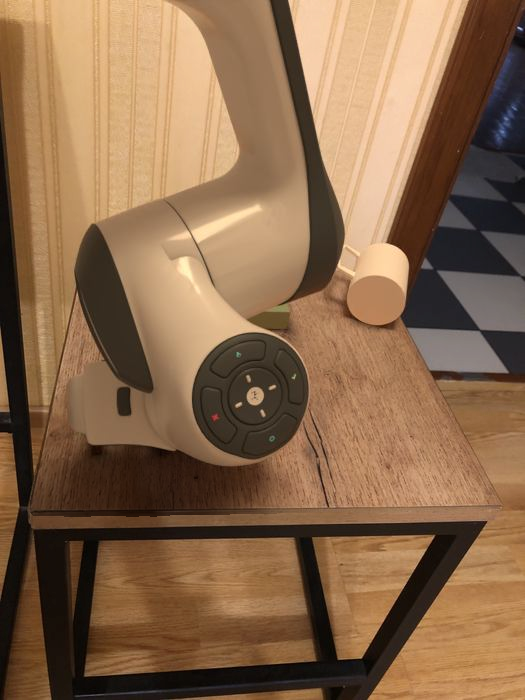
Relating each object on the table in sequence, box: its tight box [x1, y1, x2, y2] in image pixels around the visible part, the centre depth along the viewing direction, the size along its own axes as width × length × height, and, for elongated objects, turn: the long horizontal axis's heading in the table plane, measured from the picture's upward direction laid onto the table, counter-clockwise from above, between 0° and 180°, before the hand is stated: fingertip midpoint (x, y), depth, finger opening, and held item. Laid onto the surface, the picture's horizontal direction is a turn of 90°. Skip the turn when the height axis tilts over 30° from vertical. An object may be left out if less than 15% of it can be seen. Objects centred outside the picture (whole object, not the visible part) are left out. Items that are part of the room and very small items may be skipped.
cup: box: [336, 242, 410, 326], centre depth 86 cm, size 8×12×10 cm
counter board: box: [247, 303, 291, 330], centre depth 81 cm, size 16×11×3 cm
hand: (170, 397), depth 60 cm, fingers closed on wooden block, 4 cm apart
